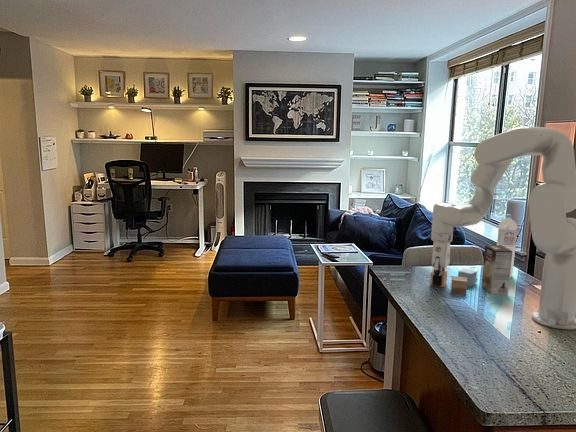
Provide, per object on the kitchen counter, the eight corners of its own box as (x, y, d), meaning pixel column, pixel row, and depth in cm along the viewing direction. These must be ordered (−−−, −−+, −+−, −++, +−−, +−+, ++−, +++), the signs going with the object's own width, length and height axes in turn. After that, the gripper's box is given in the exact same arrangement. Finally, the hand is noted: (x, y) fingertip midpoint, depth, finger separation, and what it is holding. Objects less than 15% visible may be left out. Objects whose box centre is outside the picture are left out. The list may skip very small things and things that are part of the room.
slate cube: (470, 286, 167) (471, 273, 166) (457, 283, 170) (458, 271, 169) (475, 283, 170) (477, 271, 169) (463, 280, 174) (464, 268, 173)
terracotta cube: (443, 287, 165) (444, 274, 164) (430, 285, 168) (430, 272, 167) (446, 283, 169) (447, 271, 169) (433, 281, 172) (433, 269, 171)
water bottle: (493, 276, 180) (499, 215, 176) (494, 271, 186) (499, 212, 182) (512, 278, 177) (518, 216, 173) (512, 274, 183) (518, 214, 179)
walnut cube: (466, 295, 157) (467, 281, 156) (450, 293, 159) (452, 279, 158) (465, 290, 162) (466, 277, 161) (451, 289, 163) (452, 276, 163)
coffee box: (480, 286, 167) (484, 244, 164) (497, 286, 167) (501, 244, 164) (491, 294, 158) (495, 250, 155) (509, 294, 158) (513, 250, 155)
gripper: (447, 241, 156) (444, 291, 159) (456, 233, 171) (452, 279, 174) (426, 239, 160) (422, 287, 163) (436, 231, 175) (433, 276, 178)
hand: (438, 283), depth 168 cm, fingers closed on terracotta cube, 5 cm apart
